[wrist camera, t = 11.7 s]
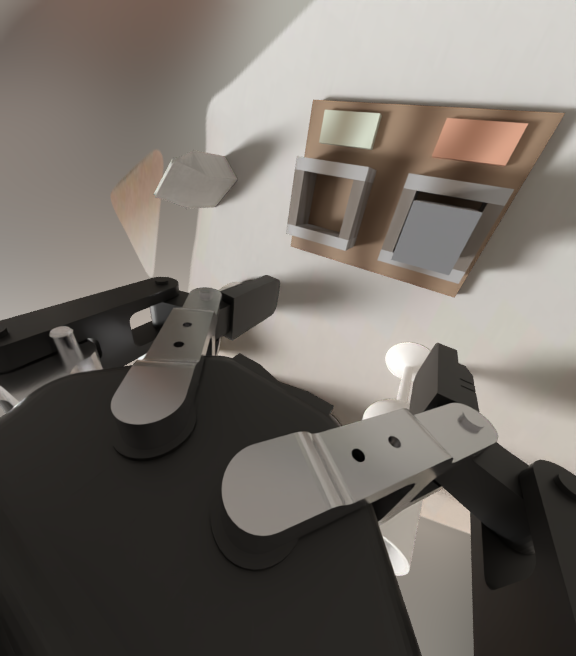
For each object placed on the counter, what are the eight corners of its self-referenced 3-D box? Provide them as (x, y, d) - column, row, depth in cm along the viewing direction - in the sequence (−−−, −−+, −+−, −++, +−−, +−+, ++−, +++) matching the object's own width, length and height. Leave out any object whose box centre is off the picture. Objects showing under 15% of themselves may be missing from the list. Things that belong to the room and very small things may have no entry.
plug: (470, 208, 23) (482, 212, 16) (447, 252, 26) (449, 275, 18) (423, 200, 25) (413, 200, 17) (406, 242, 27) (391, 259, 20)
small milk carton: (237, 179, 36) (182, 174, 28) (214, 207, 40) (161, 209, 33) (224, 156, 36) (165, 144, 28) (203, 186, 40) (146, 184, 32)
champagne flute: (419, 334, 32) (386, 514, 14) (447, 374, 32) (451, 601, 14) (376, 352, 36) (307, 506, 18) (401, 387, 37) (358, 573, 18)
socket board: (559, 117, 19) (585, 98, 16) (454, 294, 28) (455, 308, 24) (317, 103, 27) (298, 88, 23) (294, 245, 36) (277, 250, 32)
